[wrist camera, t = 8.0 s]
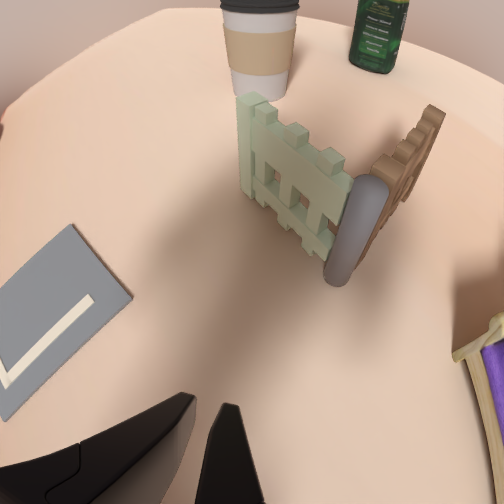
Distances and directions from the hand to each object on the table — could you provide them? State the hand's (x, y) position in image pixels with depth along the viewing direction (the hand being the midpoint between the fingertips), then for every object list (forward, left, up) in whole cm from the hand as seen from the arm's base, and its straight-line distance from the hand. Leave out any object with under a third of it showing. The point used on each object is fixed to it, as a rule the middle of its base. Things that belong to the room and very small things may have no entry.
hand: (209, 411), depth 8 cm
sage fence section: (+13, +8, -13) cm, 20 cm away
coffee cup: (+28, +27, -13) cm, 41 cm away
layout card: (-8, +17, -13) cm, 23 cm away
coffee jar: (+51, +23, -13) cm, 57 cm away
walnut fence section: (+20, +4, -13) cm, 24 cm away
